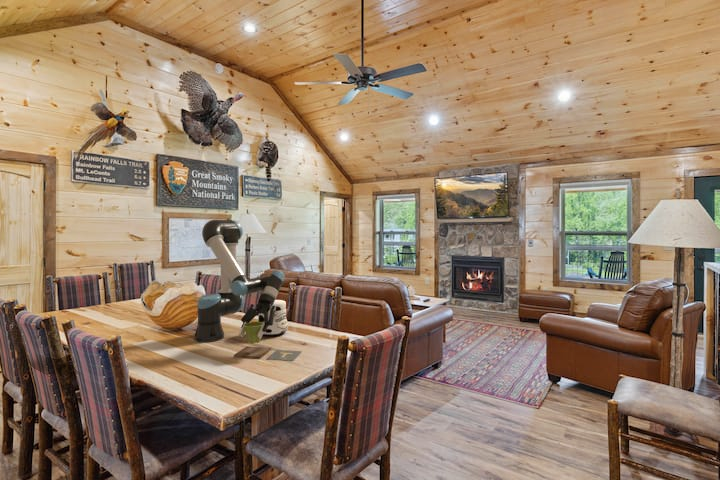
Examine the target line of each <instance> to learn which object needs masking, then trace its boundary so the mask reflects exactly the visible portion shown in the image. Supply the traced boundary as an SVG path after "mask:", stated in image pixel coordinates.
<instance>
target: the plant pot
mask: <svg viewBox="0 0 720 480" xmlns="http://www.w3.org/2000/svg"><path fill="white" fill-rule="evenodd" d="M262 324H264V323H263V322H257V321H250V322H249V323H245V324H244V325H243V326H244V328H245V336H246V342H247V343H248V344H253V345H254V344H256V343H257V344H259V343H260V342H261V339H262V338H261V339H259V337H258V336H257V335H258V333H259V331H260V328H261V326H262Z"/></svg>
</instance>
